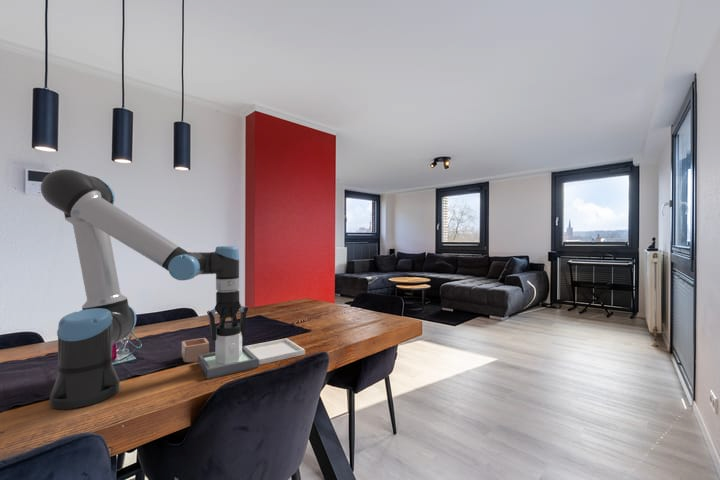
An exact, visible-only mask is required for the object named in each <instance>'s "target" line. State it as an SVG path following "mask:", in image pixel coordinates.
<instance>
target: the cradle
mask: <svg viewBox="0 0 720 480" xmlns="http://www.w3.org/2000/svg"><path fill="white" fill-rule="evenodd" d="M245 346H246V345H244V346H242V351H243V352H244V353H245V354H246V355H247V356H248V357H249V358H250V360H246V361H241V362H236V363H232V364H227V365H222V366H218V367H213V368H210V367H209V365H208V364H207V362H206V361H205V359H204V358H206V357H211V356H215V351H212V352H209V353H206V354H201V355H198V365H199V367H200V370H202V372H203V373H204V375H205V378H206V379H207V380H210V379H216V378H220V377H224V376H229V375H232V374H237V373H241V372H245V371H250V370H254V369H259V364H258V358H257V357H255V356H254V355H253V354H252V353H251V352H250V351H249V350H248V349H247V348H246V347H245Z"/></svg>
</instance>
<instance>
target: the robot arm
mask: <svg viewBox="0 0 720 480" xmlns="http://www.w3.org/2000/svg"><path fill="white" fill-rule="evenodd" d="M40 192H41V195H42V198H44V200H45V201H46V202H47V203H48V204H49V205H51V206H52V207H54V208H55V209H57V210H59V211H61V212H62V213H63V214H64V218H65V221H66V222H68V223H70V224H72V227H73V228H72V229H73V233H74V237H75V238H74V239H75V243H76V248H77V252H78V260H79V265H80V269H81V275H82V281H83V286H84V291H85V296H86V301H85V303H84V304H82V306H81V309H80V310H79V311H74V312H71V313H68V314H67V315H66V314H65V316H63V317H62V318H60V320H59V322H58V325H57V328H58V329H57V330H56V332H57V333H56V336H57V358H58V359H57V362H58V363H57V365H58V371H57V372H58V373H57V377H56V380H55V382H54V385H53V387H52V390H51V392H50V395H49V406H50V408H52V409H55V410H72V408H73V409H79V408H84V407H87V406H88V407H89V406H91V405H94V404H97V403H100V402H102V401H105V400H107V399H109V398H111V397H114V396H115V395H116V394H118V392H119V391H120V387H121V386H120V382H121V381H120V379H119V376H118V374H117V371H116V369H115V367H114V365H113V345H115V344H116V343H119V342H120V341H121V340H123V339H125V338H127V336H129V334H130V333H131V332H132V331H133V330H134V328H135V326H136V323H137V315H136V314H137V313H136V312H135V310H134V308H133V307H131V306H130V305H129V301H128V297H127V296H125V295H123V294H122V293H121V290H120V289H121V288H120V283H119V277H118V273H117V266H116V262H115V256H114V250H113V245H112V239H111V237H112V238H114V239H115V240H117V241H118V242H120V243H122V244H123V245H125V246H127V247H128V248H130V249H131V250H133V251H135V252H137V253H138V254H140V255H141V256H143V257H145V258H147V259H148V260H150V261H152V262H153V263H155V264H156V265H158V266H159V267H161V268H163V269H165V270H166V271H168V272H169V274H170V277H171V278H174V279H175V280H176V281H188V280H192V279H194V278H195V277H197V276H199V275H215V290H216V293H215V306H214V308H213V309H211V310H207V311H206V314H207V316H208V319H209V329H210V339H211V340H212V341H215V340H216V319H215V316H216V314H218V315H219V321H218V325H219V327H224V324H225V323H226V321H227V320H226V319H227V318H230V319H231V323H232V324H233V325H238V324H237V323H238V318H237V314H238V312H239V311H240V320H239V323H240V324H241V332H242V333H241V334H242V336H245V335H246V323H247V322H246V321H247V313H248V310H249V308H248V306H245V305H244V306H243V305H241V302H240V290H239V289H240V255H239V254H240V253H239V248H238V247H237V246H234V245H233V246H232V245H226V246H225V245H224V246H219V245H218V246H216V248H215V250H214V251H212V252H211V251H210V252H206V251H205V252H201V251H200V252H196V251H195V252H190V251H187V250H185V249H184V248H182V247H180V246H179V245H178V244H176V243H174V242H173V241H171V240H170V239H168V238H166V236H164V235H162V234H160V233H158V232H157V231H155V230H154V229H152V228H150V227H149V226H148V225H146V224H144V223H143V222H141V221H140V220H138V219H136V218H135V217H134V216H132V215H130V214H128V213H126V211H124V210H122V209H121V208H119V207H117V206H116V205H114V204H115V193H114V191H113V188H112V187H111V186H110V185H109V184H108V183H107V182H105V181H103V180H102V179H100V178H98V177H96V176H94V175H93V176H92V175H87V174H85V173H82V172H80V171H77V170H73V169H65V168H64V169H58V170H55V171H54V170H53V171H52V172H49V173H48V174H47V175H46V176H45V177H44V178H43V179H42V181H41V184H40ZM83 406H84V407H83ZM78 407H79V408H78Z"/></svg>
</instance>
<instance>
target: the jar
mask: <svg viewBox="0 0 720 480" xmlns="http://www.w3.org/2000/svg"><path fill="white" fill-rule="evenodd" d="M237 324H238V325H233V324H232V322H225V324H224V327H219V324H218V325H217V326H215V330H216V340H214V341H215V345H214V347H215V348H214V349H215V351H214V352H215V362H216V363H221V364H230V363H234V362H239V361H240V359H241V357H242V347H243V335H242V334H241V333H242V332H241V324H240V322H237Z"/></svg>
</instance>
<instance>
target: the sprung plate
mask: <svg viewBox="0 0 720 480" xmlns="http://www.w3.org/2000/svg"><path fill="white" fill-rule="evenodd" d="M204 359H205V361H206V362H207V364H208V365H209V367H210V368H213V367H218V366H222V365H227V364H221V363H216V362H215V356H211V357H206V358H204ZM246 360H250V358H249V357H248V356H247V355H246V354H245V353H244V352H243V351H242V357H241V359H240V361H239V362H241V361H246ZM234 363H236V362H234ZM230 364H232V363H230Z"/></svg>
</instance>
